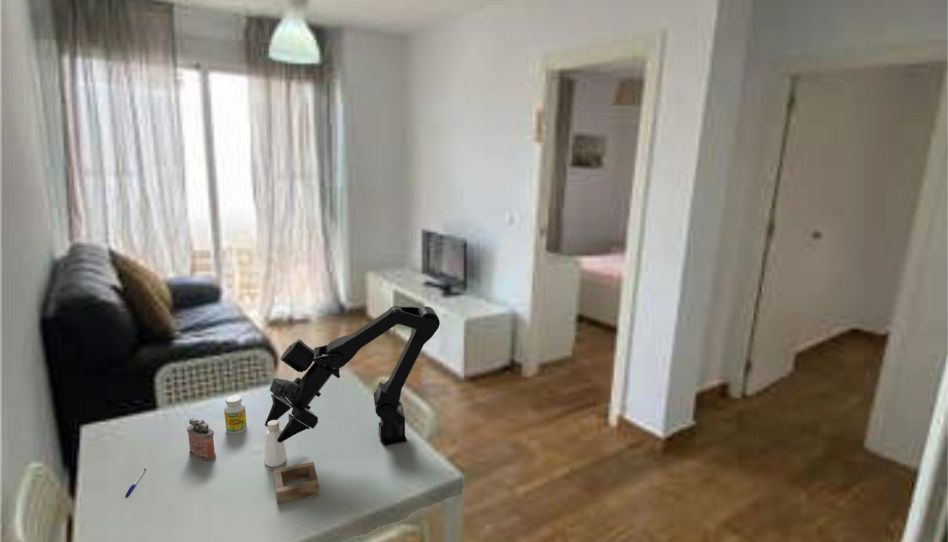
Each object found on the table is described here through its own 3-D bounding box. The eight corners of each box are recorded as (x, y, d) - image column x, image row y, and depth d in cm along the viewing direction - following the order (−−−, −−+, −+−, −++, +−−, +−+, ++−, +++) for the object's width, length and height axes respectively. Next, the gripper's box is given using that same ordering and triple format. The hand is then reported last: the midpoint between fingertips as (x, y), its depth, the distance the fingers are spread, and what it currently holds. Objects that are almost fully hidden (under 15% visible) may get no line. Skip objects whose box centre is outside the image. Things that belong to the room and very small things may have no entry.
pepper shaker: (264, 469, 132) (262, 429, 129) (263, 457, 137) (261, 419, 134) (287, 464, 134) (285, 425, 131) (285, 453, 139) (283, 415, 136)
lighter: (219, 456, 136) (216, 421, 134) (207, 463, 133) (204, 428, 131) (197, 448, 140) (194, 414, 137) (186, 455, 137) (182, 420, 134)
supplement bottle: (244, 422, 153) (242, 392, 151) (248, 431, 149) (246, 400, 146) (224, 427, 150) (221, 396, 148) (227, 436, 146) (225, 404, 144)
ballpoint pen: (129, 497, 120) (128, 493, 120) (125, 498, 120) (124, 494, 120) (146, 470, 130) (145, 466, 130) (142, 470, 130) (141, 467, 130)
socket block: (313, 472, 131) (313, 461, 131) (319, 494, 123) (318, 483, 122) (274, 480, 128) (273, 469, 127) (277, 504, 119) (276, 492, 119)
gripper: (276, 355, 140) (235, 405, 135) (303, 380, 126) (259, 436, 121) (307, 375, 146) (269, 423, 142) (335, 401, 132) (294, 455, 128)
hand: (272, 433), depth 133 cm, fingers open, 9 cm apart
